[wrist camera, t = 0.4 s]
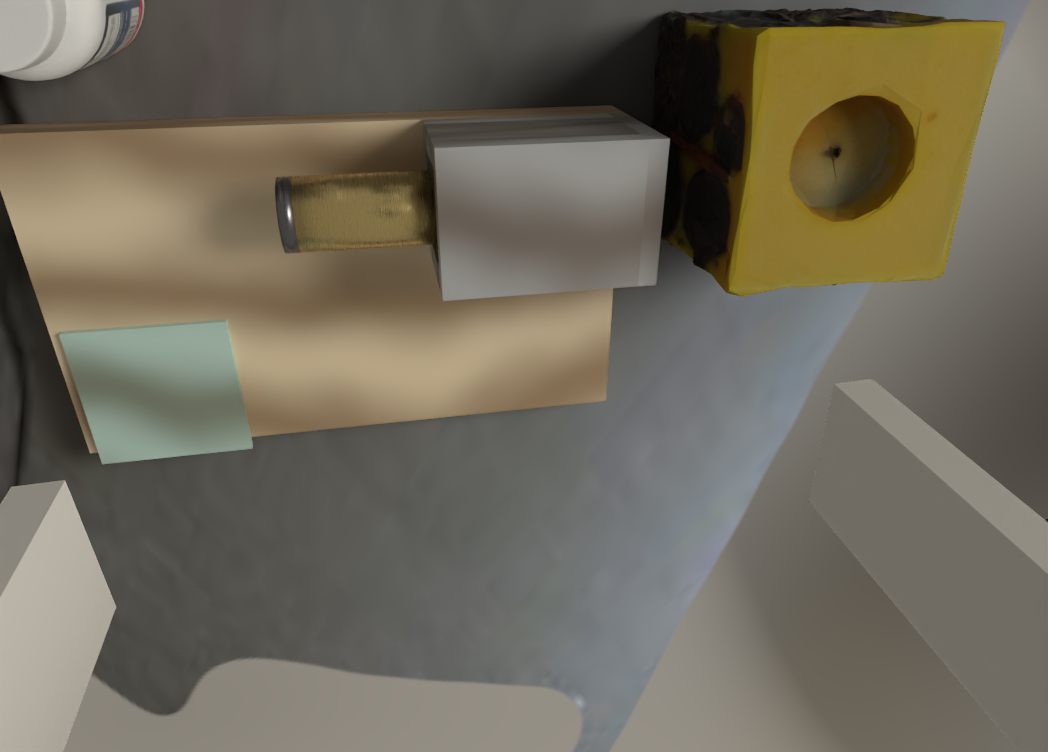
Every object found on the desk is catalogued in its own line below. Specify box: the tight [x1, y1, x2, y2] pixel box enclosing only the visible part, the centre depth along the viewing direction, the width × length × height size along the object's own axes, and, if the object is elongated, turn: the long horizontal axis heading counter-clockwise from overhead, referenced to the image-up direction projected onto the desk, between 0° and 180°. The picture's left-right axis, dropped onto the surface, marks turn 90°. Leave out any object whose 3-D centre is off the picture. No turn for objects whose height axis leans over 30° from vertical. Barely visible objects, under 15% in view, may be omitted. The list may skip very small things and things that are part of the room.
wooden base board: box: [0, 105, 670, 464], centre depth 33 cm, size 16×26×8 cm, turn 90°
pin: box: [275, 170, 438, 254], centre depth 31 cm, size 3×8×3 cm, turn 90°
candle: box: [652, 8, 1005, 296], centre depth 33 cm, size 10×10×10 cm
